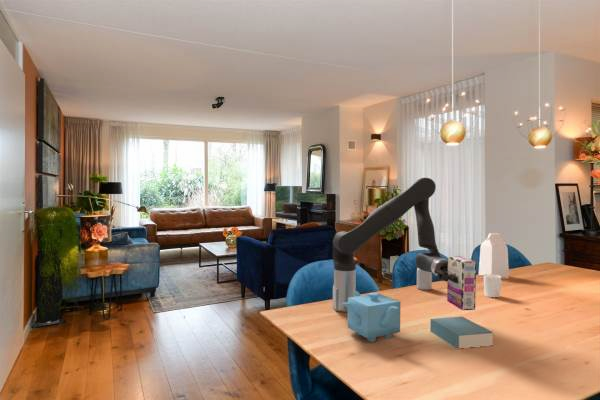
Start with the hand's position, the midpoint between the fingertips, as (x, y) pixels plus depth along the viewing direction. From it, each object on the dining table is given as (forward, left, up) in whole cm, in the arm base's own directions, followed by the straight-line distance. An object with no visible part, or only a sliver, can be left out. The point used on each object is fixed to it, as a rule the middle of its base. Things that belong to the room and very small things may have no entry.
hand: (464, 280), depth 132 cm
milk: (+74, +94, -21) cm, 121 cm away
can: (+18, +69, -21) cm, 75 cm away
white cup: (+45, +52, -21) cm, 72 cm away
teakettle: (-30, +8, -21) cm, 38 cm away
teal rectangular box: (0, +3, -21) cm, 21 cm away
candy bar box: (0, +3, -10) cm, 10 cm away
